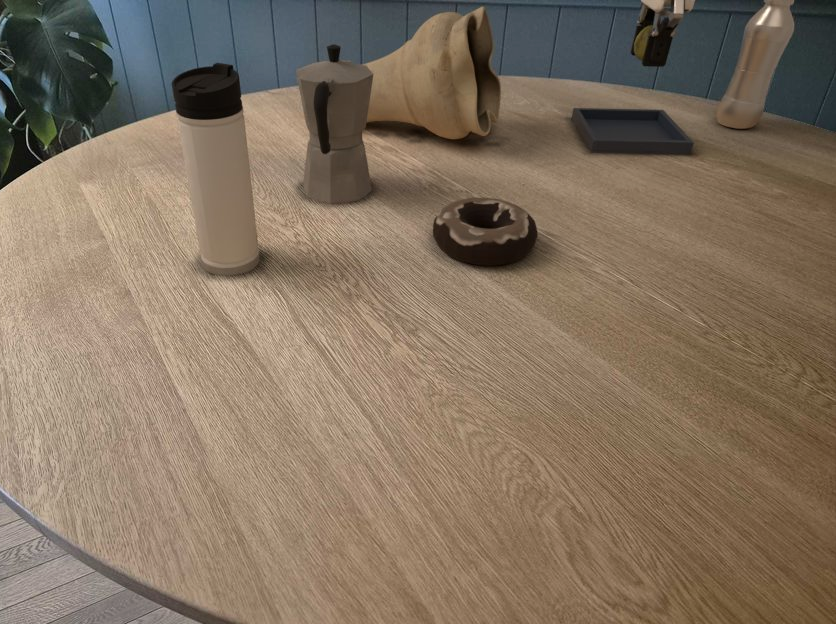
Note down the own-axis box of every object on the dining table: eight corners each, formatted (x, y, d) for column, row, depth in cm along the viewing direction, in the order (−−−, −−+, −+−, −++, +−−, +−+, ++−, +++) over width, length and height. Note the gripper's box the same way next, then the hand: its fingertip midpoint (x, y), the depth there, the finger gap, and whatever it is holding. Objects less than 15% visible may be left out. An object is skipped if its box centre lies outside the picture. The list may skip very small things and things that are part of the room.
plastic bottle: (706, 119, 110) (749, -16, 98) (747, 120, 110) (796, -15, 98) (720, 133, 105) (768, -8, 93) (763, 134, 105) (817, -7, 93)
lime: (634, 56, 99) (643, 20, 96) (667, 62, 96) (677, 24, 93) (625, 63, 96) (634, 26, 93) (659, 69, 94) (669, 30, 90)
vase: (272, 52, 92) (466, 14, 81) (325, -4, 106) (496, -43, 95) (322, 186, 107) (493, 170, 95) (363, 121, 120) (516, 100, 109)
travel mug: (272, 254, 74) (254, 67, 62) (239, 282, 69) (212, 86, 57) (225, 242, 76) (199, 59, 64) (190, 269, 71) (154, 76, 59)
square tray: (659, 122, 109) (663, 109, 108) (689, 156, 97) (694, 142, 96) (570, 120, 109) (573, 107, 108) (590, 154, 98) (593, 140, 97)
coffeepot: (313, 168, 93) (306, 29, 82) (379, 172, 92) (381, 33, 81) (286, 217, 81) (273, 63, 70) (361, 223, 80) (361, 67, 69)
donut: (532, 278, 70) (538, 245, 68) (423, 264, 72) (425, 232, 70) (536, 228, 79) (542, 197, 77) (439, 217, 81) (441, 187, 79)
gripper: (740, -82, 78) (693, 78, 89) (691, -95, 91) (655, 46, 103) (677, -83, 78) (637, 77, 89) (636, -95, 92) (606, 45, 103)
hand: (647, 59), depth 96 cm, fingers closed on lime, 5 cm apart
